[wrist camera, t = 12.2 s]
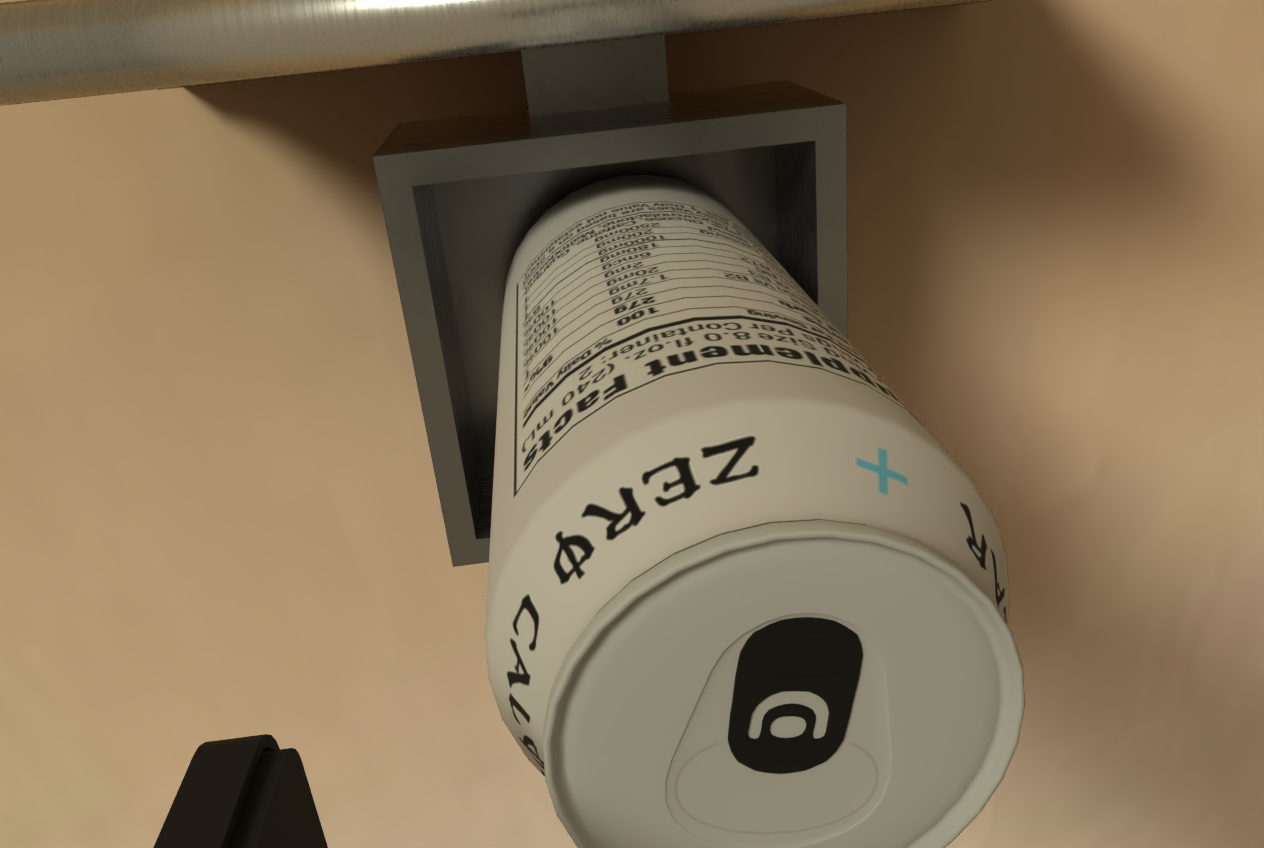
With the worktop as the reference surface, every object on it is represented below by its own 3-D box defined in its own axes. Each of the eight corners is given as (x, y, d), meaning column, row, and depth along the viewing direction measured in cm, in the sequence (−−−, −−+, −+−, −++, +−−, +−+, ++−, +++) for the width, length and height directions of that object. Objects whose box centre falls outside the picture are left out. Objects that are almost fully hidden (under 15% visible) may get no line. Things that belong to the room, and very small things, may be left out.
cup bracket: (951, 358, 30) (1151, 534, 21) (273, 444, 29) (156, 672, 19) (974, -180, 24) (1266, -278, 15) (128, -99, 23) (-141, -150, 14)
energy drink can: (499, 410, 24) (472, 966, 11) (508, 157, 22) (488, 457, 8) (742, 420, 25) (1006, 950, 11) (777, 175, 23) (1162, 480, 9)
